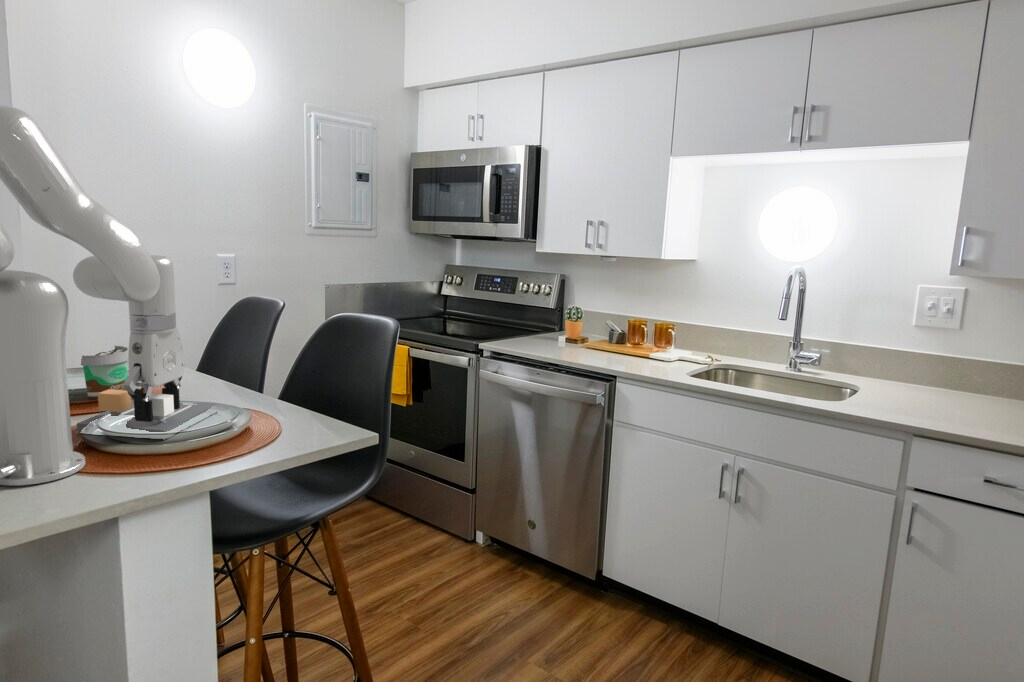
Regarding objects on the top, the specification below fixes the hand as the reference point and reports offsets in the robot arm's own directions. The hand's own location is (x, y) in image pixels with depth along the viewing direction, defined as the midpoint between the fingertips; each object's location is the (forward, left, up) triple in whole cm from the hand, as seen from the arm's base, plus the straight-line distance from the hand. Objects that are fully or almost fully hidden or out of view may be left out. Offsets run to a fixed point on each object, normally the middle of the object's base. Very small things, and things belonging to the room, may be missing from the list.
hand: (158, 413), depth 122 cm
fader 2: (0, 0, -1) cm, 1 cm away
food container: (+21, +24, -4) cm, 32 cm away
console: (+5, +4, -3) cm, 7 cm away
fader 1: (0, +9, -1) cm, 9 cm away
